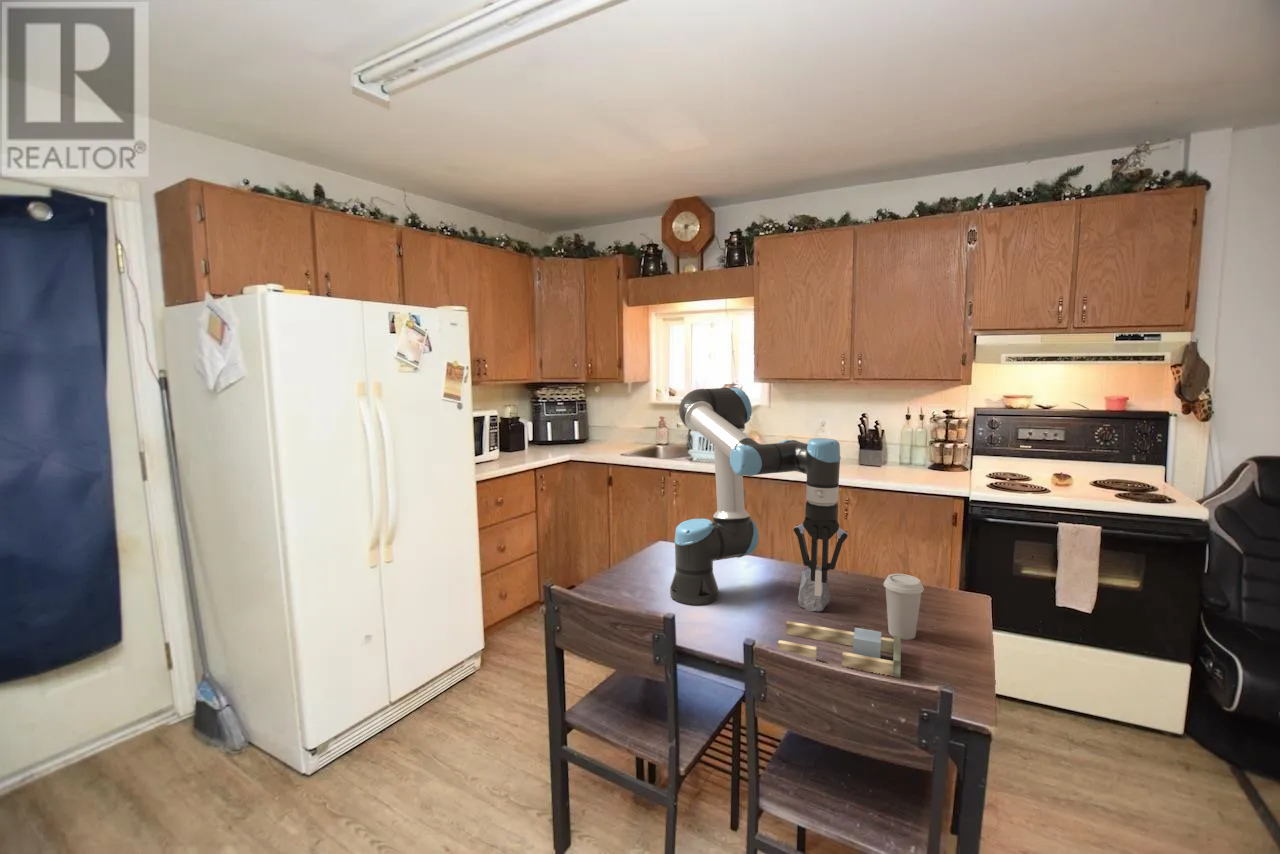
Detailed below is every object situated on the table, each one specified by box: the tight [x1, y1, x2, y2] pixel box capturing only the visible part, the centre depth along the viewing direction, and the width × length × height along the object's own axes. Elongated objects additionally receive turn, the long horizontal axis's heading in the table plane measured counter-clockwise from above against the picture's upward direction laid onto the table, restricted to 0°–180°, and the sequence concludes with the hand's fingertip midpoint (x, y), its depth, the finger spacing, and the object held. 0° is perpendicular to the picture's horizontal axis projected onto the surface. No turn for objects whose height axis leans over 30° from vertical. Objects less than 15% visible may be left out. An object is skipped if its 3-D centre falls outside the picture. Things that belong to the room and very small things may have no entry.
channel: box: [777, 620, 902, 678], centre depth 138 cm, size 28×13×4 cm, turn 65°
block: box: [852, 627, 882, 659], centre depth 135 cm, size 6×6×6 cm
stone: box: [797, 566, 831, 612], centre depth 166 cm, size 12×10×10 cm
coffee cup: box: [883, 573, 925, 641], centre depth 147 cm, size 10×10×15 cm
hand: (818, 593), depth 139 cm, fingers closed
